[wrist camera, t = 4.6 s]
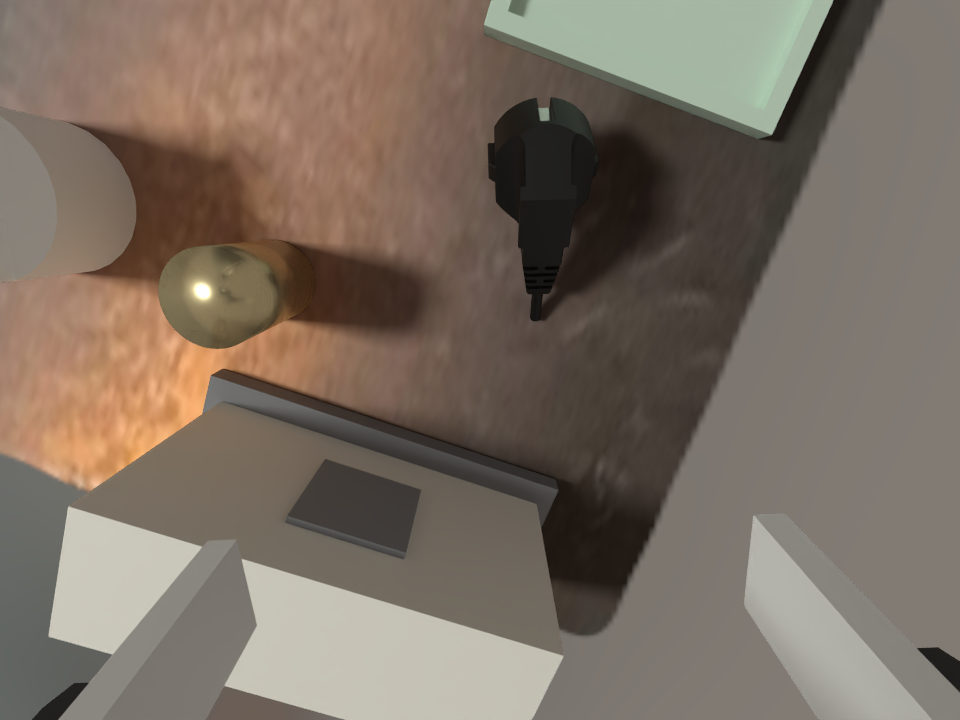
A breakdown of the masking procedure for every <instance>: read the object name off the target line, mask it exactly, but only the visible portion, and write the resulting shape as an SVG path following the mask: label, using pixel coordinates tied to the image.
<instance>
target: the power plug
mask: <svg viewBox="0 0 960 720" xmlns="http://www.w3.org/2000/svg"><path fill="white" fill-rule="evenodd" d="M597 166H598V157H597V153H596V147H595V144H594V140H593V136H592V132H591V128H590V125H589V122H588V120H587V118H586V117H585V116H584V114H583V113H582V112H581V111H580V110H579V109H578V108H577V107H576V106H574V105H573V104H571V103H569V102H567V101H565V100H562V99H558V98H553V97H551V98H550V108H538V103H537V98H533V99H529V100H526V101H523V102H521V103H519V104H517V105H515V106H514V107H512V108H511V109H509V110H508V111H507V112H506V113H505V114H504V115H503V116H502V117H501V118H500V119H499V120H498V122H497V123H496V125H495V127H494V143H488V170H489V179H491V180H492V181H494V182H495V192H496V202H497V204H498V205H499V206H500V207H501V208H502V209H503V210H504V211H505V212H506V213H507V214H509V215H510V216H511V217H512V218H514V219H515V220H516V221H517V222H518V223H519V232H518V247H519V248H521V254H522V264H523V271H524V278H525V284H526V291H527V293H528V294H532V299H531V312H530V319H531V320H532V321H538V320H540V317H541V307H542V297H543V294H549V293H550V292H551V289H552V285H553V284H554V281H555V278H556V276H557V272H558V270H559V266H560V265H561V262H562V256H563V249H564V248H565V247H569V244H570V237H571V230H572V224H573V217H574V212H575V211H576V210H577V209H578V208H580V207H581V206H582V205H583V204H584V203H585V202H586V201H587V200H588V197H589V191H590V186H591V180H592V178H593V177H594V176H595V175H596V171H597Z"/></svg>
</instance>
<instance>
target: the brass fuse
mask: <svg viewBox="0 0 960 720" xmlns="http://www.w3.org/2000/svg"><path fill="white" fill-rule="evenodd" d="M314 291H315V275H314V272H313V268H312V266H311V264H310V262H309V261H308V259H307V258H306V256H305V255H304V254H303V253H302V252H301V251H300V250H299V249H297V248H296V247H294V246H293V245H291V244H289V243H287V242H284V241H280V240H261V241H251V242H240V243H230V244H219V245H209V246H198V247H192V248H188V249H185V250H183V251H181V252H179V253H177V254H176V255H175V256H174V257H172V258H171V259H170V260H169V261H168V263H167V264H166V266H165V267H164V269H163V271H162V273H161V276H160V280H159V288H158V293H159V301H160V305H161V308H162V310H163V313H164V315H165V317H166V319H167V320H168V322H169V323H170V324H171V326H172V327H173V328H174V329H175V330H176V331H177V332H178V333H179V334H180V335H181V336H183V337H184V338H185V339H187V340H189V341H190V342H192V343H194V344H197V345H199V346H202V347H206V348H213V349H222V348H228V347H232V346H235V345H237V344H239V343H241V342H243V341H245V340H247V339H249V338H251V337H253V336H255V335H257V334H259V333H261V332H263V331H265V330H267V329H269V328H271V327H273V326H275V325H277V324H279V323H281V322H283V321H285V320H287V319H289V318H291V317H293V316H295V315H297V314H299V313H300V312H302V311H303V310H304V309H305V308H306V307H307V306H308V305H309V303H310V302H311V300H312V298H313V295H314Z"/></svg>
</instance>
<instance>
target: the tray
mask: <svg viewBox="0 0 960 720" xmlns="http://www.w3.org/2000/svg"><path fill="white" fill-rule="evenodd" d="M832 3H833V0H491V3H490V6H489V10H488V13H487V16H486V20H485V23H484V35H486V36H489V37H491V38H494V39H496V40H499V41H502V42H504V43H507V44H510V45H512V46H515V47H517V48H520V49H523V50H525V51H528V52H531V53H533V54H536V55H539V56H541V57H544V58H546V59H549V60H552V61H554V62H557V63H560V64H562V65H565V66H567V67H570V68H573V69H575V70H578V71H581V72H583V73H586V74H588V75H591V76H594V77H596V78H599V79H602V80H604V81H607V82H610V83H612V84H615V85H617V86H620V87H623V88H625V89H628V90H631V91H633V92H636V93H638V94H641V95H644V96H646V97H649V98H652V99H654V100H657V101H659V102H662V103H665V104H667V105H670V106H673V107H675V108H678V109H681V110H683V111H686V112H688V113H691V114H694V115H696V116H699V117H702V118H704V119H707V120H709V121H712V122H715V123H717V124H720V125H723V126H725V127H728V128H730V129H733V130H736V131H738V132H741V133H744V134H746V135H749V136H752V137H754V138H757V139H760V138H763V137H767V136H770V135H772V134H773V132H774V129H775V127H776V125H777V123H778V121H779V119H780V116H781V114H782V112H783V110H784V108H785V105H786V103H787V101H788V99H789V97H790V94H791V92H792V90H793V88H794V86H795V84H796V81H797V79H798V77H799V75H800V73H801V70H802V68H803V66H804V64H805V62H806V59H807V57H808V55H809V53H810V51H811V49H812V46H813V44H814V42H815V40H816V38H817V35H818V33H819V31H820V29H821V27H822V24H823V22H824V20H825V18H826V16H827V14H828V11H829V9H830V7H831V5H832Z"/></svg>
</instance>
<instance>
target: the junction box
mask: <svg viewBox="0 0 960 720" xmlns="http://www.w3.org/2000/svg"><path fill="white" fill-rule="evenodd" d="M557 492H558V486H557V483H556V479H553V478H550V477H547V476H544V475H541V474H538V473H535V472H532V471H529V470H526V469H523V468H520V467H517V466H514V465H511V464H508V463H505V462H502V461H499V460H496V459H493V458H490V457H487V456H484V455H481V454H478V453H475V452H472V451H469V450H466V449H463V448H460V447H457V446H454V445H451V444H448V443H445V442H442V441H439V440H436V439H433V438H430V437H427V436H424V435H421V434H418V433H415V432H412V431H409V430H406V429H403V428H400V427H397V426H394V425H391V424H388V423H385V422H382V421H379V420H376V419H373V418H370V417H366V416H363V415H360V414H357V413H354V412H351V411H348V410H345V409H342V408H339V407H336V406H333V405H330V404H327V403H324V402H321V401H318V400H315V399H312V398H309V397H306V396H303V395H300V394H297V393H294V392H291V391H288V390H285V389H282V388H279V387H276V386H273V385H270V384H267V383H264V382H261V381H258V380H255V379H252V378H249V377H246V376H243V375H240V374H237V373H234V372H231V371H228V370H225V369H221V370H220V371H218V372H216V373H214V374H213V375H211V377H210V382H209V386H208V391H207V395H206V400H205V404H204V409H203V413H202V415H201V416H199V417H198V418H196V419H195V420H193V421H192V422H190V423H189V424H188V425H186V426H185V427H183V428H182V429H180V430H179V431H177V432H176V433H174V434H173V435H172V436H170V437H169V438H167V439H166V440H164V441H163V442H161V443H160V444H158V445H157V446H156V447H154V448H153V449H151V450H150V451H148V452H147V453H145V454H144V455H142V456H141V457H140V458H138V459H137V460H135V461H134V462H132V463H131V464H129V465H128V466H126V467H125V468H124V469H122V470H121V471H119V472H118V473H116V474H115V475H113V476H112V477H110V478H109V479H108V480H106V481H105V482H103V483H102V484H100V485H99V486H97V487H96V488H94V489H93V490H92V491H90V492H89V493H87V494H86V495H84V496H83V497H81V498H80V499H78V500H77V501H76V502H74V503H73V504H71V505H70V506H68V512H67V518H66V525H65V531H64V538H63V545H62V551H61V558H60V565H59V571H58V577H57V584H56V591H55V597H54V603H53V610H52V617H51V623H50V629H49V637H52V638H56V639H59V640H63V641H66V642H70V643H74V644H77V645H81V646H84V647H88V648H91V649H95V650H99V651H102V652H106V653H110V654H114V652H115V651H116V650H117V649H118V648H119V646H120V645H121V644H122V643H123V642H124V640H125V639H126V638H127V637H128V636H129V634H130V633H131V632H132V631H133V630H134V628H135V627H136V626H137V625H138V624H139V622H140V621H141V620H142V619H143V618H144V616H145V615H146V614H147V613H148V612H149V610H150V609H151V608H152V607H153V606H154V604H155V603H156V602H157V601H158V600H159V598H160V597H161V596H162V595H163V594H164V592H165V591H166V590H167V589H168V588H169V586H170V585H171V584H172V583H173V582H174V580H175V579H176V578H177V577H178V576H179V574H180V573H181V572H182V571H183V570H184V568H185V567H186V566H187V565H188V564H189V562H190V561H191V560H192V559H193V558H194V557H195V555H196V554H197V553H198V552H199V551H200V549H201V548H202V547H203V546H204V545H205V543H206V542H207V541H214V540H235V539H237V542H238V546H239V551H240V555H241V559H242V563H243V568H244V572H245V576H246V580H247V585H248V589H249V593H250V597H251V602H252V606H253V610H254V614H255V619H256V623H257V627H256V629H255V630H254V632H253V634H252V636H251V638H250V640H249V641H248V643H247V645H246V647H245V649H244V651H243V652H242V654H241V656H240V658H239V660H238V661H237V663H236V665H235V667H234V669H233V671H232V672H231V674H230V676H229V678H228V680H227V682H226V683H225V685H224V686H227V687H231V688H234V689H238V690H242V691H245V692H248V693H252V694H256V695H259V696H263V697H266V698H270V699H273V700H277V701H280V702H284V703H288V704H291V705H295V706H298V707H302V708H305V709H309V710H313V711H316V712H320V713H324V714H327V715H331V716H334V717H337V718H341V719H345V720H532V718H533V716H534V714H535V712H536V710H537V708H538V706H539V704H540V702H541V700H542V698H543V696H544V694H545V692H546V690H547V688H548V686H549V684H550V682H551V680H552V678H553V676H554V674H555V672H556V670H557V669H558V666H559V664H560V662H561V661H562V659H563V657H564V654H563V649H562V643H561V638H560V632H559V626H558V621H557V615H556V610H555V604H554V598H553V593H552V587H551V581H550V576H549V570H548V565H547V559H546V553H545V548H544V542H543V537H542V531H541V528H542V526H543V524H544V521H545V519H546V517H547V515H548V512H549V510H550V508H551V506H552V504H553V501H554V499H555V497H556V495H557Z"/></svg>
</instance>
